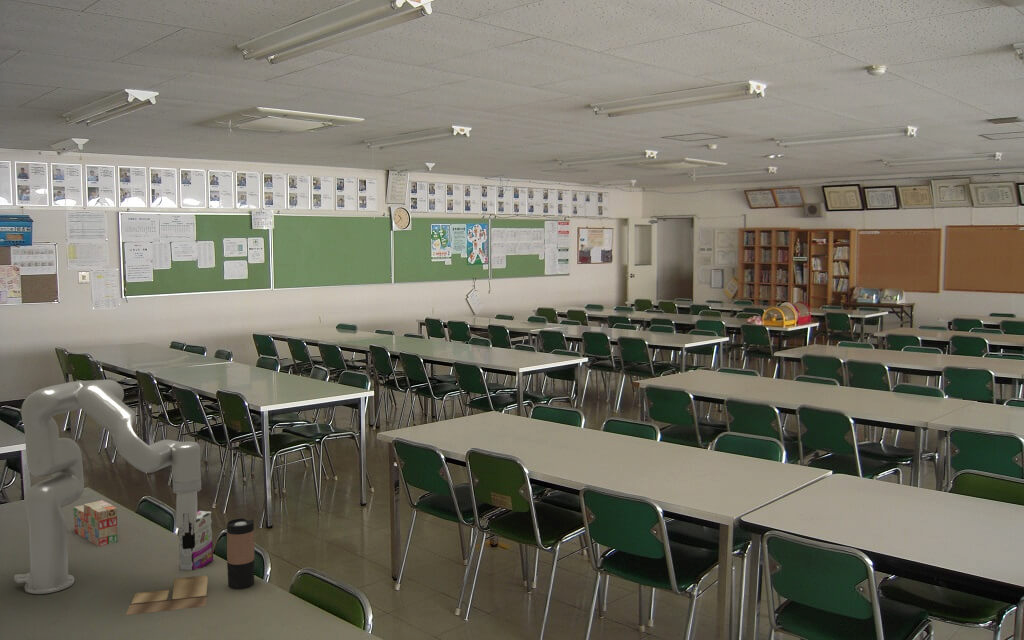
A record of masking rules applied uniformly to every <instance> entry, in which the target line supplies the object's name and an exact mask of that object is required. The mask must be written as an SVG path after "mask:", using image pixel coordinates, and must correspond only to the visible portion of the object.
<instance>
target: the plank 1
mask: <svg viewBox="0 0 1024 640" xmlns="http://www.w3.org/2000/svg"><path fill="white" fill-rule="evenodd" d="M169 593H170V589H163V590H155V591H147V592H137V593H136V592H135V593H134V596H133V599H132V601H131V603H130V604H134V603H143V602H152V601H162V600H168V596H169Z"/></svg>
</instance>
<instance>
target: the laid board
mask: <svg viewBox="0 0 1024 640" xmlns="http://www.w3.org/2000/svg"><path fill="white" fill-rule="evenodd" d="M207 598H208V595H206V596H198V597H188V598H179V599H167V600H161V601H152V602H142V603H133V604H131V603H129V606H128V608H127V611H126V613H125V615H126V616H129V615H138V614H146V613H157V612H165V611H173V610H183V609H193V608H202V607H206V605H207Z"/></svg>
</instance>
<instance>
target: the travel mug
mask: <svg viewBox="0 0 1024 640" xmlns="http://www.w3.org/2000/svg"><path fill="white" fill-rule="evenodd" d="M254 523H255V522H254V519H249V520H247V519H246V518H242V517H241V518H240V517H239V518H234V519H231V520H229V521H227V523H226V539H227V540H226V558H227V559H226V564H227V567H226V569H227V585H228V588H229V589H231V590H245V589H248V588H251V587H253V585H254V584H255V556H256V555H255V524H254Z"/></svg>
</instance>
